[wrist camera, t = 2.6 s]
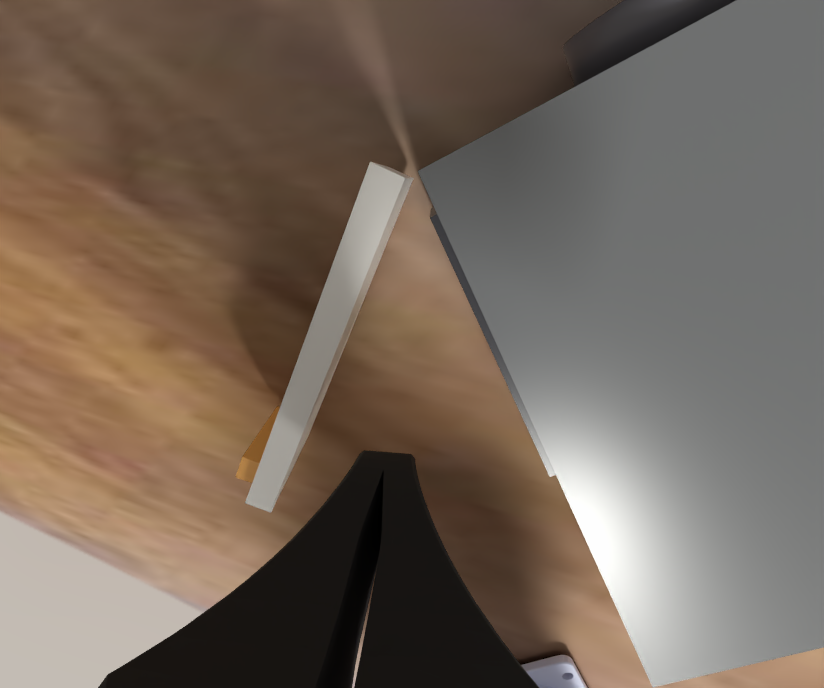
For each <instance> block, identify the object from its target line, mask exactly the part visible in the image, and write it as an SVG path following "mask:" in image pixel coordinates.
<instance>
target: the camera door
mask: <svg viewBox="0 0 824 688" xmlns="http://www.w3.org/2000/svg"><path fill="white" fill-rule="evenodd" d="M412 181H413V178H412V177H410V176H408V175H405V174H403V173H401V172H399V171H397V170H395V169H393V168H391V167H388V166H384V165H381V164H377V163H373V162H370V163H369V166H368V169H367V172H366V174H365V177H364V180H363V183H362V185H361V188H360V191H359V193H358V196H357V199H356V202H355V204H354V207H353V210H352V213H351V215H350V218H349V221H348V223H347V226H346V229H345V232H344V234H343V237H342V240H341V243H340V245H339V248H338V251H337V253H336V256H335V259H334V262H333V264H332V267H331V270H330V273H329V275H328V278H327V281H326V283H325V286H324V289H323V292H322V294H321V297H320V300H319V303H318V305H317V308H316V311H315V313H314V316H313V319H312V322H311V324H310V327H309V330H308V333H307V335H306V338H305V341H304V344H303V346H302V349H301V352H300V354H299V357H298V360H297V363H296V365H295V368H294V371H293V374H292V376H291V379H290V382H289V384H288V387H287V390H286V393H285V395H284V398H283V401H282V404H281V406H280V407H279V406H277V407H276V409H275V410H274V412H273V413H272V415H271V416H270V417H269V419H268V420H267V422H266V423H265V425H264V426H263V428H262V429H261V431H260V432H259V433H258V435H257V436H256V438H255V439H254V441H253V442H252V444H251V445H250V446H249V448H248V449H247V451H246V452H245V454H244V455H243V457H242V459H241V462H240V465H239V468H238V471H237V474H236V477H237V478H239V479H242V480H245V481H247V482H250V483H252V485H251V488H250V491H249V494H248V496H247V499H246V502H245V503H246V504H249V505H252V506H254V507H257V508H260V509H262V510H265V511H268V512H272V510H273V508H274V506H275V503H276V501H277V499H278V497H279V495H280V493H281V491H282V489H283V487H284V485H285V483H286V481H287V479H288V477H289V475H290V473H291V471H292V469H293V467H294V465H295V463H296V460H297V458H298V456H299V454H300V452H301V450H302V448H303V446H304V444H305V442H306V440H307V438H308V436H309V433H310V431H311V429H312V426H313V424H314V421H315V419H316V416H317V414H318V411H319V409H320V406H321V404H322V402H323V399H324V397H325V394H326V392H327V389H328V387H329V384H330V382H331V380H332V377H333V375H334V372H335V370H336V367H337V365H338V362H339V360H340V357H341V355H342V353H343V350H344V348H345V345H346V343H347V340H348V338H349V335H350V333H351V330H352V328H353V326H354V323H355V321H356V318H357V316H358V313H359V311H360V308H361V306H362V303H363V301H364V299H365V296H366V294H367V291H368V289H369V286H370V284H371V281H372V279H373V277H374V274H375V272H376V269H377V267H378V264H379V262H380V259H381V257H382V254H383V252H384V250H385V247H386V245H387V242H388V240H389V237H390V235H391V232H392V230H393V227H394V225H395V223H396V220H397V218H398V215H399V213H400V210H401V208H402V205H403V203H404V201H405V198H406V196H407V193H408V191H409V188H410V186H411V183H412Z"/></svg>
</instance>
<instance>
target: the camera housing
mask: <svg viewBox="0 0 824 688" xmlns="http://www.w3.org/2000/svg"><path fill="white" fill-rule="evenodd" d="M563 51H564V54H565V57H566V60H567V63H568V67H569V70H570V73H571V76H572V79H573V82H574V85H575V87H574V88H572V89H570V90H568V91H566V92H564V93H562V94H561V95H559V96H557V97H555V98H553V99H551V100H549V101H548V102H546V103H544V104H542V105H540V106H538V107H536V108H534V109H533V110H531V111H529V112H527V113H525V114H523V115H521V116H520V117H518V118H516V119H514V120H512V121H510V122H508V123H506V124H505V125H503V126H501V127H499V128H497V129H495V130H493V131H492V132H490V133H488V134H486V135H484V136H482V137H480V138H478V139H477V140H475V141H473V142H471V143H469V144H467V145H465V146H464V147H462V148H460V149H458V150H456V151H454V152H452V153H450V154H449V155H447V156H445V157H443V158H441V159H439V160H437V161H436V162H434V163H432V164H430V165H428V166H426V167H424V168H422V169H421V170H419V171H418V173H419V175H420V177H421V180H422V182H423V184H424V186H425V188H426V190H427V193H428V195H429V197H430V199H431V201H432V204H433V206H434V207H433V208H431V213H430V219H431V221H432V223H433V225H434V227H435V230H436V232H437V234H438V236H439V238H440V240H441V243H442V245H443V247H444V249H445V251H446V253H447V256H448V258H449V260H450V262H451V264H452V266H453V269H454V271H455V273H456V275H457V277H458V279H459V282H460V284H461V286H462V288H463V290H464V292H465V295H466V297H467V299H468V301H469V303H470V305H471V307H472V310H473V312H474V314H475V316H476V318H477V320H478V323H479V325H480V327H481V329H482V331H483V333H484V336H485V338H486V340H487V342H488V344H489V346H490V349H491V351H492V353H493V355H494V357H495V359H496V362H497V364H498V366H499V368H500V370H501V372H502V375H503V377H504V379H505V381H506V383H507V385H508V388H509V390H510V392H511V394H512V396H513V398H514V401H515V403H516V405H517V407H518V409H519V411H520V414H521V416H522V418H523V420H524V422H525V424H526V426H527V429H528V431H529V433H530V435H531V437H532V439H533V442H534V444H535V446H536V448H537V450H538V452H539V455H540V457H541V459H542V461H543V463H544V465H545V468H546V470H547V472H548V474H549V476H550V477H552V476H554V475H556V476H557V478H558V480H559V483H560V485H561V487H562V489H563V491H564V494H565V496H566V498H567V500H568V502H569V504H570V507H571V509H572V511H573V513H574V515H575V518H576V520H577V522H578V524H579V526H580V529H581V531H582V533H583V535H584V537H585V540H586V542H587V544H588V546H589V548H590V551H591V553H592V555H593V557H594V559H595V562H596V564H597V566H598V568H599V570H600V573H601V575H602V577H603V579H604V581H605V584H606V586H607V588H608V590H609V592H610V595H611V597H612V599H613V601H614V603H615V605H616V608H617V610H618V612H619V614H620V616H621V619H622V621H623V623H624V625H625V627H626V630H627V632H628V634H629V636H630V638H631V641H632V643H633V645H634V647H635V649H636V652H637V654H638V656H639V658H640V660H641V663H642V665H643V667H644V669H645V671H646V674H647V676H648V678H649V680H650V682H651V685H652V687H657V686H661V685H665V684H670V683H674V682H678V681H682V680H687V679H691V678H695V677H699V676H704V675H708V674H712V673H716V672H721V671H725V670H729V669H734V668H738V667H742V666H746V665H751V664H755V663H759V662H763V661H768V660H772V659H776V658H780V657H785V656H789V655H793V654H797V653H802V652H806V651H810V650H814V649H819V648H823V647H824V0H624V1H622V2H621V3H619V4H618V5H616V6H615V7H613V8H612V9H610V10H609V11H607V12H606V13H604V14H603V15H601V16H600V17H599V18H597V19H596V20H594V21H593V22H592V23H590V24H589V25H587V26H586V27H585V28H583V29H582V30H581V31H579V32H578V33H577V34H576V35H574V36H573V37H572V38H571V39H570V40H568V41H567V42H566V43H565V44H564V46H563Z"/></svg>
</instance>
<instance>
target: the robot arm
mask: <svg viewBox="0 0 824 688" xmlns="http://www.w3.org/2000/svg"><path fill="white" fill-rule="evenodd" d="M376 568H377V569H376ZM375 572H376V575H375ZM374 577H375V581H374ZM373 581H374V587H373V592H372V598H371V604H370V609H369V615H368V620H367V625H366V631H365V636H364V641H363V647H362V652H361V657H360V662H359V667H358V672H357V677H356V682H355V687H354V688H587V686H586V684H585V682H584V681H583V679H582V677H581V675H580V673H579V671H578V669H577V667H576V666H575V664H574V662H573V660H572V659H571V658H570V657H569V656H567V655H557V656H553V657H550V658H546V659H542V660H538V661H534V662H530V663H527V664H523V665H520V663H519V662H518V661H517V659H516V658H515V657H514V656H513V654H512V653H511V652H510V650H509V649H508V648H507V646H506V645H505V644H504V642H503V641H502V640H501V638H500V637H499V635H498V634H497V633H496V631H495V630H494V628H493V627H492V625H491V624H490V622H489V621H488V620H487V618H486V617H485V615H484V614H483V612H482V611H481V609H480V608H479V606H478V605H477V604H476V602H475V601H474V599H473V597H472V596H471V594H470V592H469V591H468V589H467V587H466V586H465V584H464V583H463V581H462V579H461V577H460V576H459V574H458V572H457V570H456V568H455V567H454V565H453V563H452V561H451V559H450V557H449V555H448V553H447V551H446V549H445V547H444V545H443V543H442V541H441V539H440V537H439V535H438V532H437V530H436V528H435V526H434V523H433V521H432V518H431V516H430V513H429V510H428V508H427V505H426V502H425V500H424V497H423V494H422V491H421V487H420V484H419V480H418V476H417V471H416V465H415V458H414V457H413V456H412V455H411V454H402V453H390V452H377V451H365V450H364V451H363V452H362V453H360V454H359V456H358V458H357V460H356V461H355V463H354V464H353V466H352V467H351V469H350V470H349V472H348V473H347V475H346V476H345V477H344V479H343V480H342V482H341V483H340V484H339V486H338V487H337V488H336V489H335V491H334V492H333V493H332V494H331V496H330V497H329V498H328V500H327V501H326V502H325V503H324V504H323V506H322V507H321V508H320V509H319V510H318V511H317V512H316V514H315V515H314V516H313V517H312V518H311V519H310V520H309V521H308V523H307V524H306V525H305V526H304V527H303V528H302V529H301V530H300V531H299V532H298V533H297V534H296V535H295V536H294V537H293V538H292V539H291V540H290V541H289V542H288V543H287V544H286V545H285V546H284V547H283V548H282V549H281V550H280V551H279V552H278V553H277V554H276V555H275V556H274V557H273V558H272V559H270V560H269V561H268V562H267V563H266V564H265V565H264V566H262V567H261V568H260V569H259V570H258V571H257V572H255V573H254V574H253V575H252V576H251V577H250V578H248V579H247V580H246V581H245V582H244V583H242V584H241V585H240V586H239V587H237V588H236V589H235V590H234V591H232V592H231V593H230V594H229V595H227V596H226V597H225V598H223V599H222V600H221V601H219V602H218V603H216V604H215V605H214V606H212V607H211V608H210V609H208V610H207V611H205V612H204V613H203V614H201V615H200V616H199V617H197V618H196V619H195V620H193V621H192V622H191V623H189V624H188V625H186V626H185V627H183V628H182V629H180V630H179V631H177V632H176V633H174V634H173V635H171V636H170V637H168V638H167V639H165V640H163V641H162V642H160V643H159V644H157V645H155V646H154V647H152V648H151V649H149V650H147V651H146V652H144V653H143V654H141V655H139V656H138V657H136V658H135V659H133V660H131V661H130V662H128V663H126V664H125V665H123V666H122V667H120V668H118V669H116V670H115V671H113V672H111V673H110V674H108V675H107V676H106V678H105V679H104V681H103V682H102V683H101V685H100V686H99V687H98V688H352V684H353V677H354V670H355V664H356V658H357V653H358V648H359V643H360V638H361V634H362V630H363V625H364V621H365V616H366V612H367V608H368V603H369V599H370V594H371V590H372V586H373Z"/></svg>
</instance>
